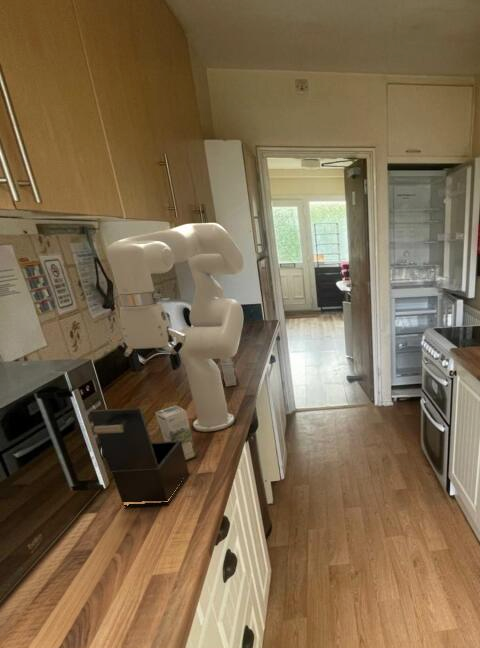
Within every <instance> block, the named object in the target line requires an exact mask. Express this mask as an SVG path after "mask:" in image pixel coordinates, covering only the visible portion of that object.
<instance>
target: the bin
mask: <svg viewBox="0 0 480 648" xmlns="http://www.w3.org/2000/svg"><path fill="white" fill-rule="evenodd" d="M151 443H152V446H153V449H154V453H155V456H156V460H157V463H158V466H159V467H158V468H157V469H140V470H122V471H111V474H112V477H113V479H114V482H115V486H116V488H117V491H118V494H119V497H120V500H121V503H122V502H142V501H168V499H169V498H170V497H171V496H172V497H171V498H170V500H169V501H168V502H161V503H145V504H129V505H128V506H127V505H124V506H125V507H126V508H125V509H135V508H136V509H137V508H149V507H150V508H151V507H166V506H167V507H168V506H170V505H171V503H172V501H173V500H174V499H175V497H176V496H177V494H178V493H179V491H180V490H181V488H182V486H183V485H184V483H185V481H187V479H188V477H189V475H190V472H189V468H188V464H187V460H185V456H184V452H183V448H182V444H181V441H173V442H163V441H159V442H158V441H157V442H151ZM183 478H184V479H183ZM181 481H182V482H181ZM179 484H180V485H179ZM178 485H179V486H178ZM177 487H178V488H177ZM176 488H177V489H176ZM175 490H176V491H175ZM174 491H175V492H174ZM173 493H174V494H173ZM172 494H173V495H172ZM124 506H123V507H124Z"/></svg>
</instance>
